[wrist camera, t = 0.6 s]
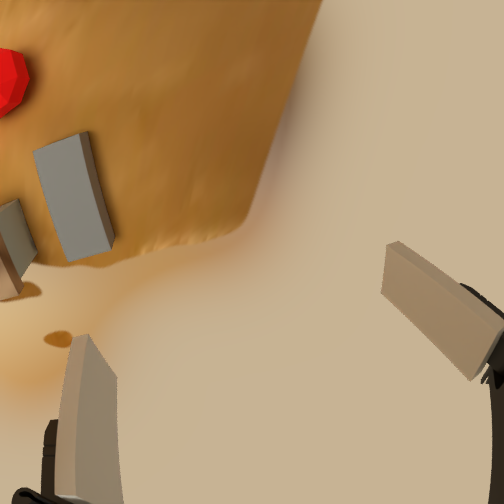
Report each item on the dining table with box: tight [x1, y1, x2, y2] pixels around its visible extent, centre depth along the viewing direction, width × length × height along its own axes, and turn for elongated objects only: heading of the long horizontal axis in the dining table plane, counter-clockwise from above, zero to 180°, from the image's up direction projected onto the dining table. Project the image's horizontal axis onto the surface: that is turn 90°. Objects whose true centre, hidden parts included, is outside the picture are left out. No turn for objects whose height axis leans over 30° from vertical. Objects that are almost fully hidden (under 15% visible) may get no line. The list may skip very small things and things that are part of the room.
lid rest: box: [33, 132, 115, 262], centre depth 30 cm, size 14×6×4 cm, turn 8°
